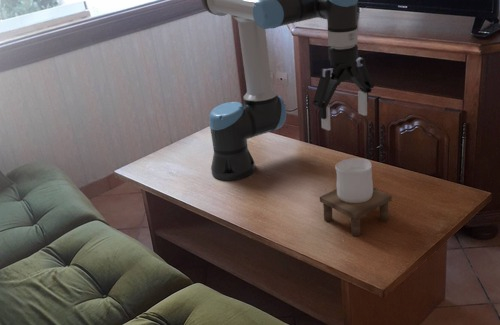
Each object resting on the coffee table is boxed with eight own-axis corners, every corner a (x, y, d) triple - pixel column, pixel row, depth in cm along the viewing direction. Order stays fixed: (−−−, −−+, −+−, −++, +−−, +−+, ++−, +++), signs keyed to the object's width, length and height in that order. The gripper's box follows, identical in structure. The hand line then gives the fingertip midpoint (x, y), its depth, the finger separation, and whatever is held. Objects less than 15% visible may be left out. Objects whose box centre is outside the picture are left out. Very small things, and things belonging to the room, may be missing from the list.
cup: (380, 198, 163) (379, 166, 159) (348, 208, 160) (347, 176, 156) (361, 184, 172) (360, 154, 167) (330, 194, 168) (329, 163, 164)
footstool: (320, 219, 171) (319, 196, 168) (355, 202, 178) (355, 180, 175) (356, 238, 160) (355, 214, 157) (391, 219, 167) (391, 195, 164)
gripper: (315, 59, 144) (319, 139, 153) (387, 36, 156) (387, 111, 166) (296, 54, 150) (300, 131, 159) (367, 32, 162) (367, 105, 171)
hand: (344, 121), depth 162 cm, fingers open, 13 cm apart
